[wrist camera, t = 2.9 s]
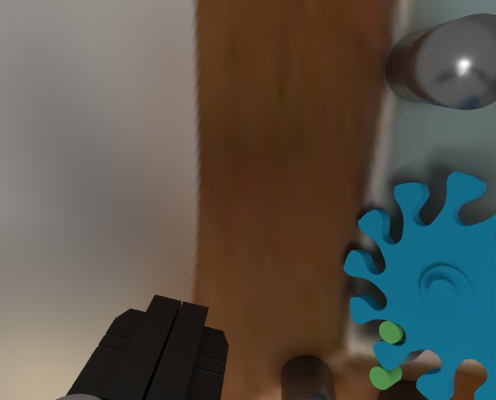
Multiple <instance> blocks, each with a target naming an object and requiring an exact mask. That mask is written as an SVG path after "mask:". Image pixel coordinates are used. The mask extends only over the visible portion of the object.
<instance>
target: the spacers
mask: <svg viewBox="0 0 496 400" xmlns="http://www.w3.org/2000/svg"><path fill="white" fill-rule="evenodd" d="M386 77H387V81H388V84H389V86H390V88H391V89H392V90H393V92H394V93H395V94H396V95H398V96H399V97H401V98H403V99H405V100H409V101H414V102H420V103H426V104H432V105H437V106H443V107H449V108H455V109H461V110H472V109H478V108H481V107H484V106H487V105H489V104H491V103H493V102H494V101H496V15H492V14H473V15H469V16H466V17H463V18H460V19H456V20H453V21H450V22H447V23H444V24H441V25H437V26H434V27H431V28H428V29H425V30H422V31H419V32H415V33H413V34H410V35H408V36H406V37H405V38H403V39H402V40H401V41H399V42H398V43H397V44H396V46H395V47H394V48H393V50H392V51H391V53H390V55H389V57H388V60H387V64H386ZM416 384H417V383H415V382H411V381H398V382H396V383H394V384H393V385H392V386H390V387H389V388H387V389H385V390H382V391H381V393H380V395H379V397H378V400H429V399H428V398H426V397H425V396H424V395H423V394H422V393H421V392H420V391H419V390H418V389H417V388H416ZM281 394H282V400H336V395H335V389H334V384H333V379H332V374H331V370H330V368H329V367H328V365H327V364H326V363H325V362H323V361H322V360H320V359H318V358H315V357H311V356H301V357H297V358H294V359H292V360H291V361H289V362H288V363H287V364H286V365H285V366H284V368H283V370H282V373H281Z"/></svg>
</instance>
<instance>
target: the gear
mask: <svg viewBox="0 0 496 400" xmlns="http://www.w3.org/2000/svg"><path fill="white" fill-rule="evenodd" d="M486 186H487V185H486V182H485V181H483V180H482V179H480V178H478V177H475V176H472V175H469V174H464V173H459V172H455V171H454V172H453V173H452V174H451V175H450V176H449V177H448V180H447V184H446V187H447V197H446V201H445V205H444V207H443V209H442V211H441V212H440V214H439V215H438V217H437V218H436V219H435V220H434V221H433V222H432V223H431V224H430V225H425V224H424V223H422V222H421V220H420V218H419V211H420V209H421V208H422V206H423V205H424V204H425V203H426V201H427V200H428V197H429V188H428V186H427V184H422V183H405V184H401V185H397V186H395V189H394V197H395V199H396V201H397V202H398V204H399V206H400V208H401V210H402V213H403V219H404V228H403V235H402V239H401V241H400V242H399V243H395V242H394V241H393V240H392V239H391V238H390V235H389V229H390V217H389V215H388V213H387V212H386V211H384V210H379V209H375V210H372V211H370V212H368V213H366V214H365V215H364V216H363V217H362V218H361V219H360V220H359V221H358V225H359V228H360V229H361V231H362V232H363V233H365V234H367V235H368V236H370V237H371V238H372V239H373V240H374V241H375V242H376V243H377V245H378V246H379V248H380V250H381V252H382V254H383V257H384V259H385V263H386V268H385V271H384V272H383V273H382V272H380V271H378V270H377V269H376V267H375V265H374V262H373V259H372V257H371V255H370V254H369V253H368V252H367V251H365V250H362V249H359V250H352V251H351V252H350V253H349V255H348V257H347V259H346V261H345V265H344V270H345V272H346V273H347V274H349V275H350V276H356V277H362V278H365V279H367V280H369V281H371V282H372V283H374V284H375V285H376V286H377V287H378V288H379V289H380V290H381V291H382V292H383V293H384V294H385V296H386V298H387V306H386V308H384V307H382V306H380V305H379V304H378V303H377V302H376V301H375V300H374V299H373V298H372V297H371V296H369V295H360V296H357V297H353V298H351V301H350V310H351V316H352V321H354V322H355V323H358V324H362V323H366V322H368V321H371V320H374V319H382V320H387V321H385V322H383V323H381V325H380V327H379V333H380V336H381V338H382V339H383V340H381V341H379V342H377V343H375V344H374V346H373V350H374V353H375V355H376V357H377V359H378V360H379V362H380V364H379V365H377V366H375V367H374V368H372V369H371V371H370V380H371V382H372V384H373V385H374V386H375V387H376V388H378V389H380V390H385V389H387V388H389V387H390V386H392V385H393V384H394V383H396V382H397V381H399V380H400V379H401V377H402V370H401V367H400V366H399V365H400V364H401V365H405V364H408V363H410V362H412V361H413V360H415V359H416V358H417V357H418V356H419V355H420V354H421V353H422V352H423V351H424V350H425V349H428V350H431V351H434V352H435V353H436V354H437V355H438V356H439V358H440V360H441V363H442V367H441V369H432V370H429V371H427V372H426V373H425V374H423V375H422V376H421V377H420V378H419V379H418V380H417V384H416V388H417V389H418V390H419V391H420V392H421V393H422V394H423V395H424V396H425V397H426V398H428V399H429V400H449V399H450V398H451V397H452V396H453V394H454V376H455V372H456V370H457V368H458V366H459V365H460V364H461V363H462V361H464V360H465V359H474V360H476V361H478V362H480V363H481V364H482V365H483V366H484V367H485V369H486V371H487V375H488V376H487V380H486V381H485V382H484V383H483V384H482V385H481V386H480V387H479V388H478V389H477V390H476V392H475V395H474V400H496V214H495V215H494V216H492V217H491V218H489V219H488V220H485V221H483V222H481V223H478V224H474V225H471V226H469V225H466V224H464V223H463V222H462V221H461V220H460V218H459V210H460V208H461V206H462V205H464V204H465V203H467V202H470V201H473V200H476V199H478V198H479V197H481V196H482V195H483V194H484V192H485V190H486Z"/></svg>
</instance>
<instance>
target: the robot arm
mask: <svg viewBox="0 0 496 400" xmlns="http://www.w3.org/2000/svg"><path fill="white" fill-rule="evenodd" d="M180 307H181V308H180ZM208 309H209V307H205V306H200V305H196V304H192V303H188V302H183V303H182V305H181V301H179V300H175V299H171V298H167V297H163V296H159V295H155V296H154V297H153V299H152V301H151V303H150V305H149V307H148V309H147V311H146V312H143V311H139V310H135V309H129V310H127V311H126V312H124V313H123V314H121V315H120V316H118V317H116V318H115V320H114V321H113V323H112V324H111V326H110V327H109V329H108V330H107V332H106V335H105V336H104V337H103V338H102V340H101V341H100V343H99V345H98V347H97V348H96V349H95V351H94V353H93V354H92V356H91V357H90V359H89V360H88V362H87V363H86V365H85V367H84V368H83V370H82V371H81V373H80V374H79V376H78V378H77V379H76V381H75V382H74V384H73V385H72V387H71V389H70V390H69V392H68V393H67V395H66V396H64V397H61V398H59V399H56V400H221V393H222V386H223V380H224V373H225V366H226V360H227V353H228V347H229V345H228V343H227V340H226V337H225V335H224V332H223V331H222V330H218V329H213V328H209V327H205V326H204V325H205V321H206V317H207V313H208Z"/></svg>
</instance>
